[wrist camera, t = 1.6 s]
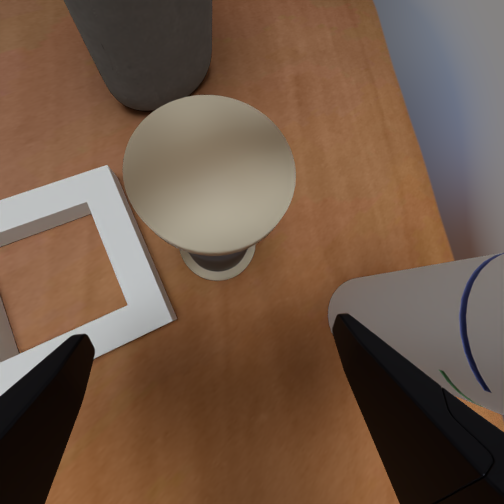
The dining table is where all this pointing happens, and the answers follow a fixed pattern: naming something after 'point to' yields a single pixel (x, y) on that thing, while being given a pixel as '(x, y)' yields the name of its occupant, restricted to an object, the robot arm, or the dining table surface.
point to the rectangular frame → (118, 249)
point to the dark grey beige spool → (209, 180)
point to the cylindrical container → (439, 322)
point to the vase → (147, 46)
